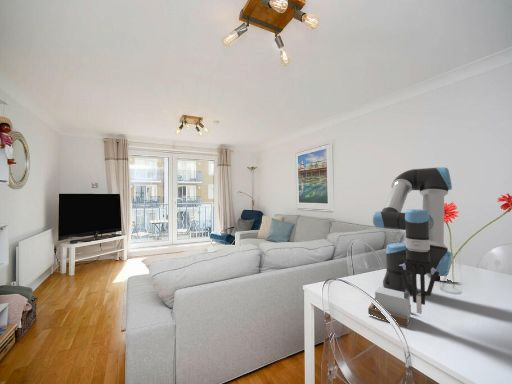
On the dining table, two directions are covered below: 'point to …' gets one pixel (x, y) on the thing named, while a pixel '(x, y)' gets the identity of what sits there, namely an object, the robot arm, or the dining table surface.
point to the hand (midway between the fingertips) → (419, 311)
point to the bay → (372, 311)
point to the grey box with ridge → (394, 301)
